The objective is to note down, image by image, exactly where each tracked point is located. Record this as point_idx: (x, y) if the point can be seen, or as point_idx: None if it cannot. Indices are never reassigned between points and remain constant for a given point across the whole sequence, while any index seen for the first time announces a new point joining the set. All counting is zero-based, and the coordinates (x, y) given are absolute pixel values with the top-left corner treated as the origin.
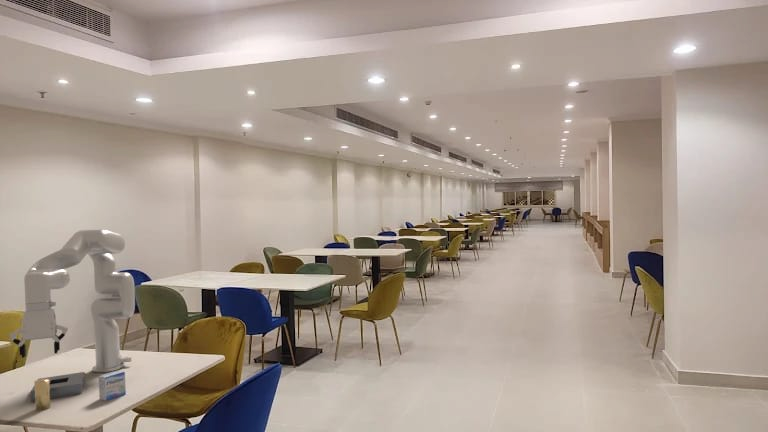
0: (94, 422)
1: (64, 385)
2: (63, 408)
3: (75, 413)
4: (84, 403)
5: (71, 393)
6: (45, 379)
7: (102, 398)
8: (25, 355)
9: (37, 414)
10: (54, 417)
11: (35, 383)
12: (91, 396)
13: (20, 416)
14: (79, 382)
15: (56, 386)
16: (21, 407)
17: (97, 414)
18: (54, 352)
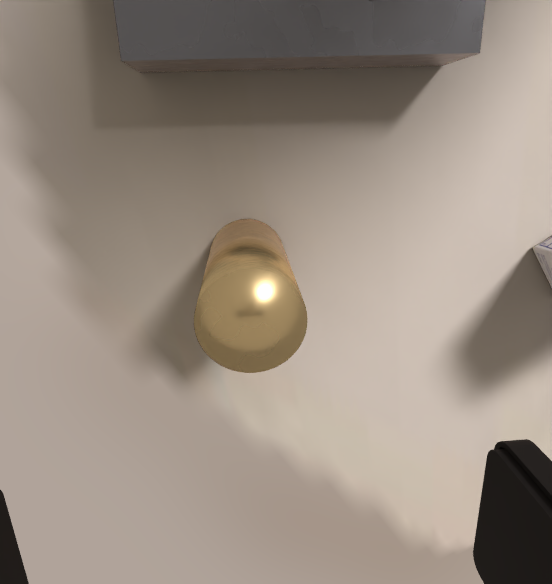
0: None
1: (362, 42)
2: (354, 311)
3: (412, 410)
4: (454, 282)
5: (387, 64)
6: (275, 302)
7: (548, 276)
8: (6, 524)
9: None
10: (325, 419)
11: (209, 352)
12: (495, 168)
13: (155, 330)
14: (470, 15)
15: (303, 33)
16: (109, 166)
17: None
18: (482, 577)
